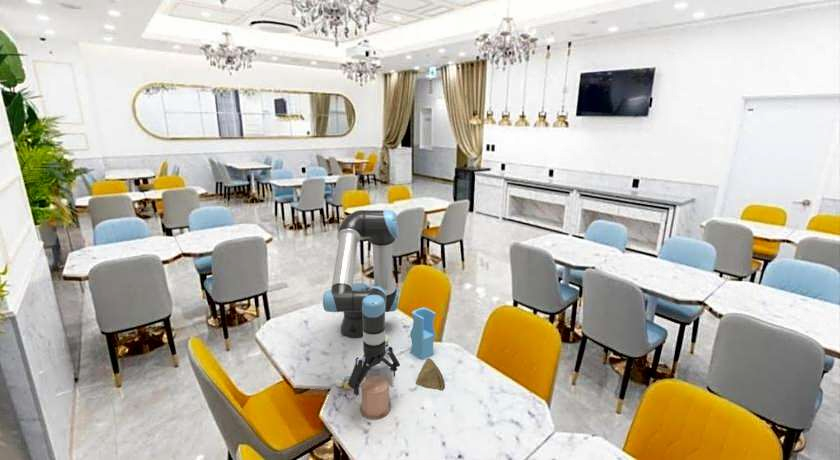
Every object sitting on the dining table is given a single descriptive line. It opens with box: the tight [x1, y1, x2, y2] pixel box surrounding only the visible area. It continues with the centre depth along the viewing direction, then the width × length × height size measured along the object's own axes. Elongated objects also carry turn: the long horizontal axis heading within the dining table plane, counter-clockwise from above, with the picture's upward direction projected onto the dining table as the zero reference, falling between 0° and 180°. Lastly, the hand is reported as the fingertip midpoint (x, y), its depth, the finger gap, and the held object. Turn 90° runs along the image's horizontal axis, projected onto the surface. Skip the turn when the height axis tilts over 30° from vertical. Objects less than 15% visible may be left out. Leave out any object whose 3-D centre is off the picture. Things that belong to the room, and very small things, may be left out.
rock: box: [415, 357, 446, 390], centre depth 154 cm, size 11×9×10 cm
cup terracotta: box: [361, 376, 390, 416], centre depth 141 cm, size 9×9×9 cm
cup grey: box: [364, 356, 390, 382], centre depth 155 cm, size 9×9×9 cm
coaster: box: [359, 401, 392, 420], centre depth 142 cm, size 11×11×1 cm
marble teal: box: [343, 374, 351, 383], centre depth 155 cm, size 3×3×3 cm
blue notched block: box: [409, 306, 437, 361], centre depth 174 cm, size 8×8×20 cm
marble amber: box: [343, 381, 352, 390], centre depth 152 cm, size 3×3×3 cm
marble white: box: [335, 378, 345, 388], centre depth 153 cm, size 3×3×3 cm
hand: (375, 393), depth 141 cm, fingers open, 13 cm apart
